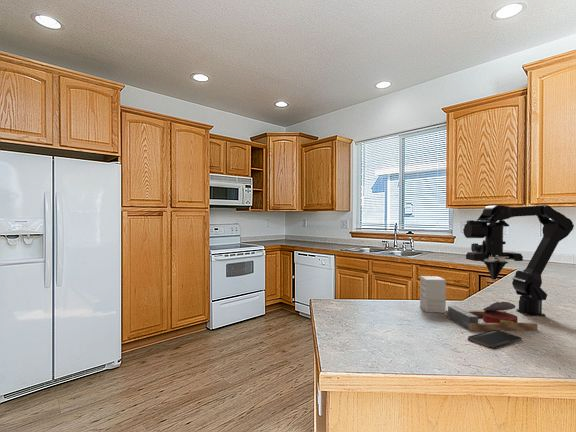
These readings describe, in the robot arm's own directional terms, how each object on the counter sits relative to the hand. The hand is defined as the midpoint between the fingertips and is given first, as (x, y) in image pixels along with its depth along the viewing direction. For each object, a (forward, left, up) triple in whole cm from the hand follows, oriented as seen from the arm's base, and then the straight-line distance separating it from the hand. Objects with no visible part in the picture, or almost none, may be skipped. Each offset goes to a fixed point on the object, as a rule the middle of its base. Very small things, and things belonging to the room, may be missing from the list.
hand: (493, 279), depth 120 cm
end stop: (+19, +11, -13) cm, 25 cm away
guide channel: (+10, +11, -13) cm, 19 cm away
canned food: (+6, +11, -13) cm, 18 cm away
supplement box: (+22, -4, -13) cm, 26 cm away
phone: (+19, +26, -14) cm, 35 cm away
